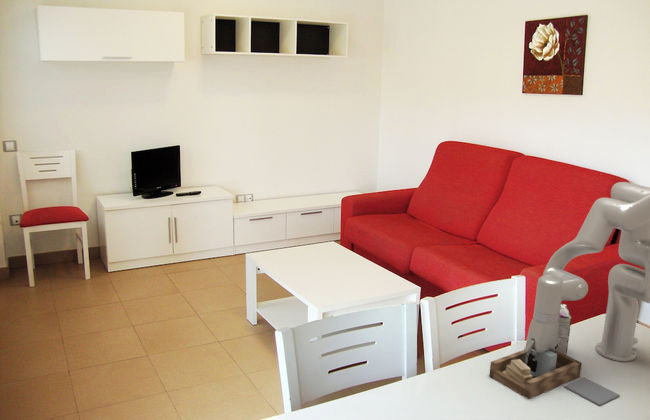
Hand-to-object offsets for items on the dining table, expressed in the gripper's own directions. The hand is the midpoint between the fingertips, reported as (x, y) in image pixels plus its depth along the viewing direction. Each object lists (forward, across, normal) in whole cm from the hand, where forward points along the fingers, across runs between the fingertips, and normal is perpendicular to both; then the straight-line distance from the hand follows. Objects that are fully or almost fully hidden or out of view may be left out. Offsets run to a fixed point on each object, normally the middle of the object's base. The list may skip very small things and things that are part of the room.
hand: (539, 366), depth 196 cm
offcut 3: (+1, +10, 0) cm, 10 cm away
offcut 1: (+3, +10, 0) cm, 11 cm away
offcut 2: (-2, +10, 0) cm, 10 cm away
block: (+3, 0, 0) cm, 3 cm away
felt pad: (+3, -6, +15) cm, 16 cm away
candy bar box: (+3, -16, -6) cm, 18 cm away
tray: (+3, +2, 0) cm, 4 cm away
